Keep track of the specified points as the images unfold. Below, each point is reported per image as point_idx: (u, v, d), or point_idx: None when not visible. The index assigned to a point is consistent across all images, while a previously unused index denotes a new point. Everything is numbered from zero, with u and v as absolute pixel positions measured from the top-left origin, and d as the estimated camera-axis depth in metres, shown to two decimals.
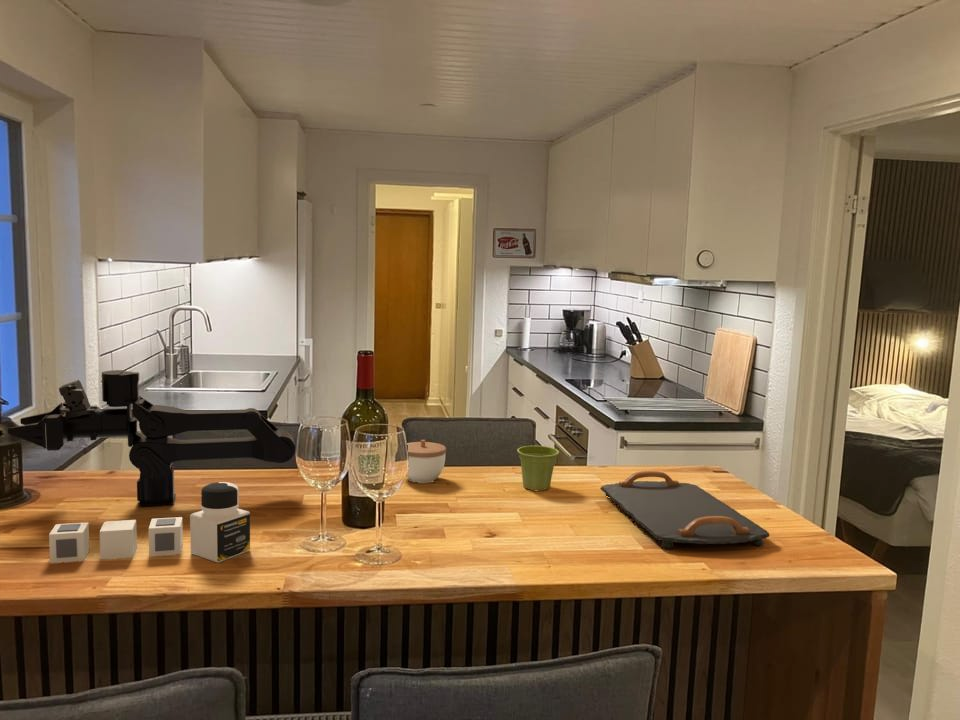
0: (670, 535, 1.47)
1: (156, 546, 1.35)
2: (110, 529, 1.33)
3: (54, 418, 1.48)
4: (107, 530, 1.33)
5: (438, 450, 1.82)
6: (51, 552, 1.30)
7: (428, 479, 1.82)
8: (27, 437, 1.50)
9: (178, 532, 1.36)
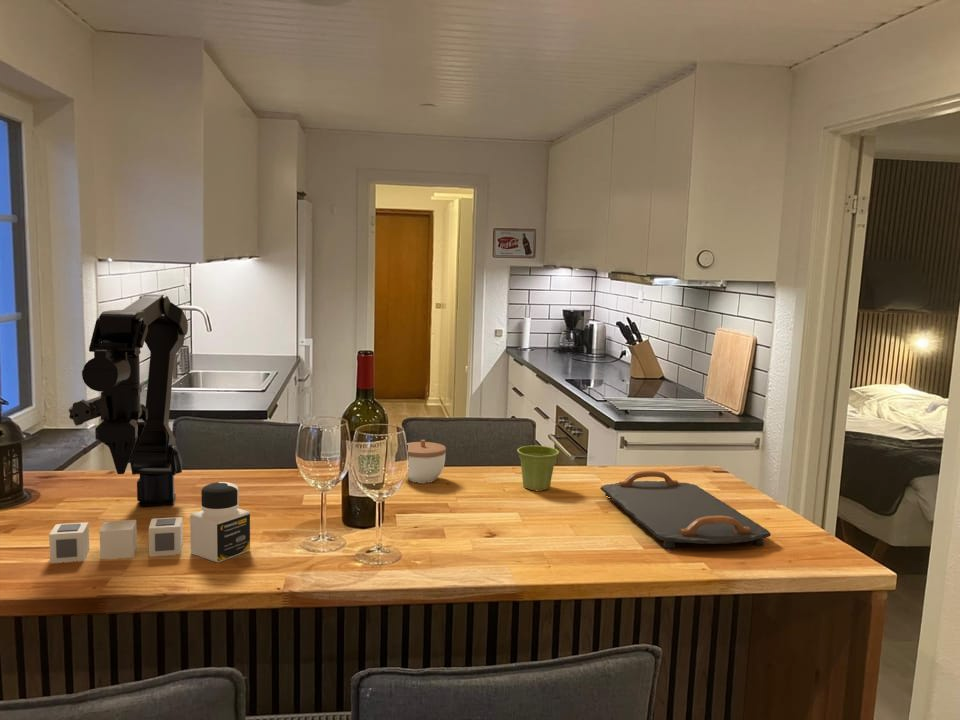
0: (672, 535, 1.47)
1: (156, 546, 1.35)
2: (110, 529, 1.33)
3: (96, 431, 1.33)
4: (107, 530, 1.33)
5: (438, 450, 1.82)
6: (51, 552, 1.30)
7: (428, 479, 1.82)
8: (126, 456, 1.39)
9: (178, 532, 1.36)
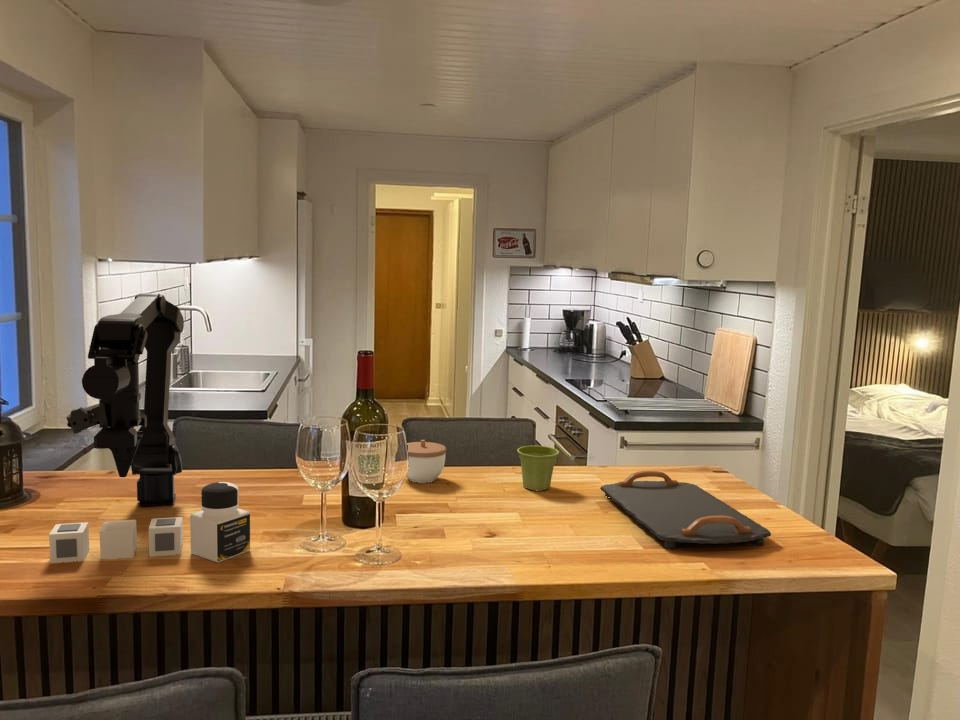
0: (673, 535, 1.47)
1: (156, 546, 1.35)
2: (109, 529, 1.33)
3: (94, 439, 1.31)
4: (107, 530, 1.33)
5: (438, 450, 1.82)
6: (51, 552, 1.30)
7: (428, 479, 1.82)
8: (128, 459, 1.40)
9: (178, 532, 1.36)
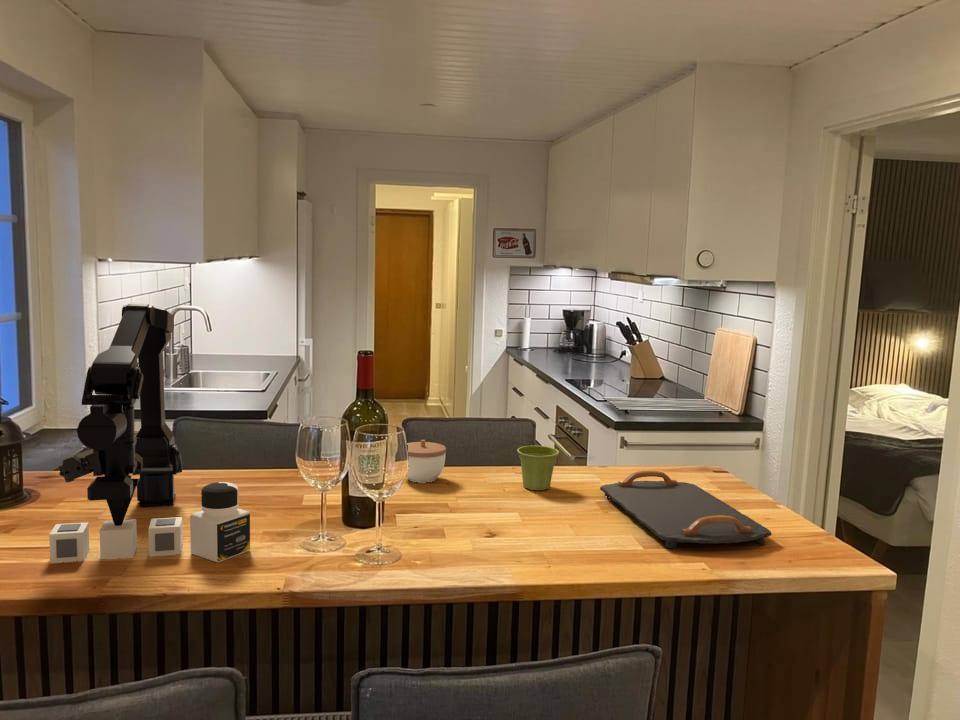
0: (674, 535, 1.47)
1: (156, 546, 1.35)
2: (110, 529, 1.33)
3: (88, 491, 1.25)
4: (107, 529, 1.33)
5: (438, 450, 1.82)
6: (51, 552, 1.30)
7: (428, 479, 1.82)
8: (123, 507, 1.34)
9: (178, 532, 1.36)
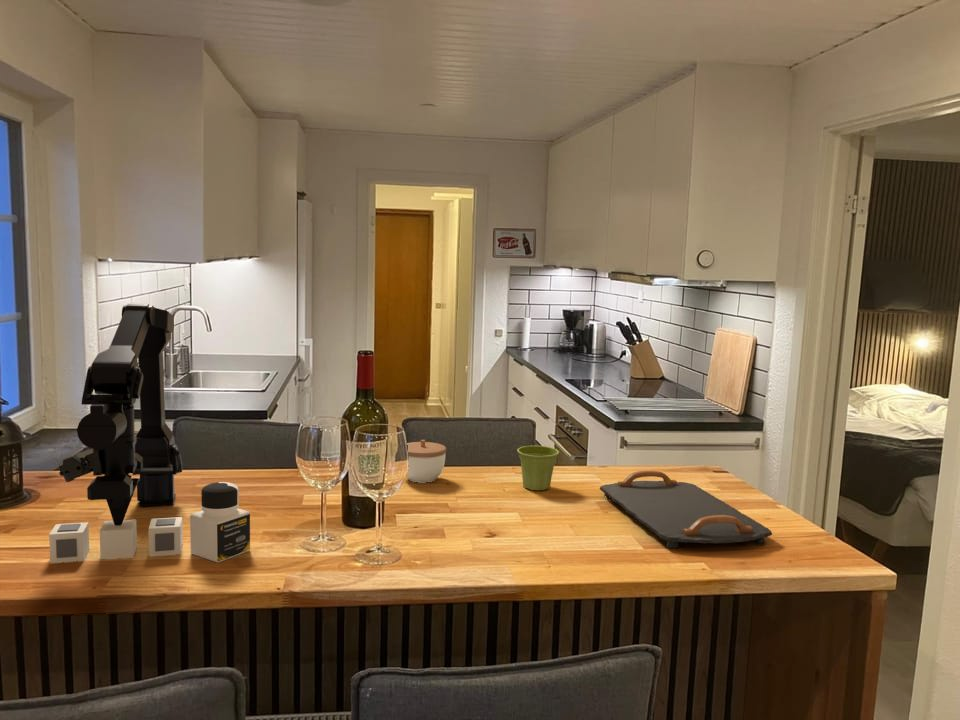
0: (675, 535, 1.47)
1: (156, 546, 1.35)
2: (110, 529, 1.33)
3: (88, 490, 1.25)
4: (107, 529, 1.33)
5: (438, 450, 1.82)
6: (51, 552, 1.30)
7: (428, 479, 1.82)
8: (123, 507, 1.34)
9: (178, 532, 1.36)
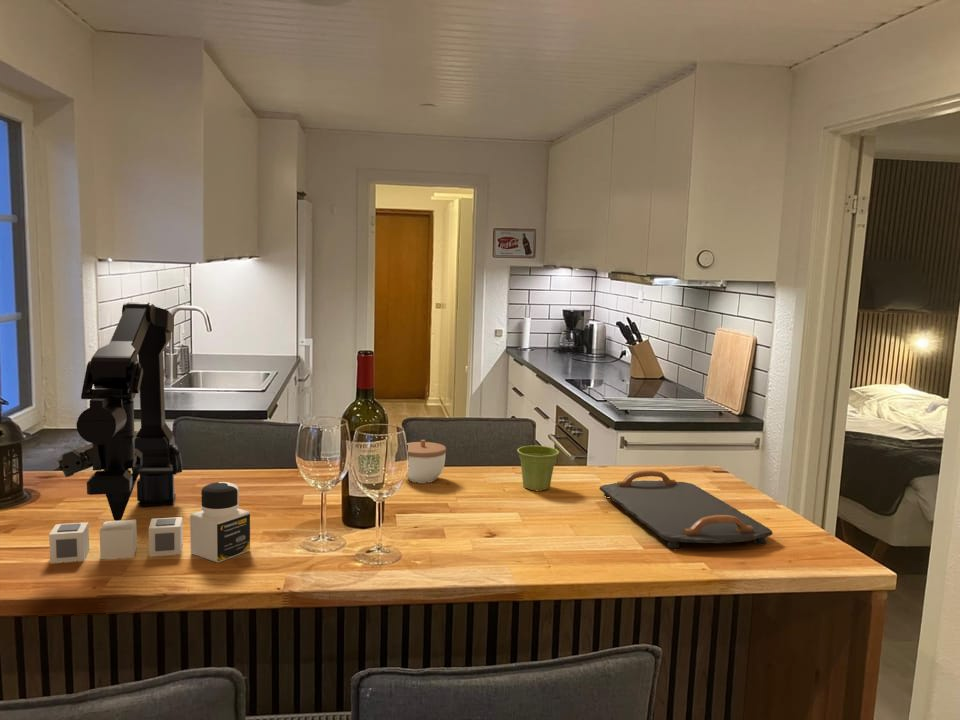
0: (677, 535, 1.47)
1: (156, 546, 1.35)
2: (110, 529, 1.33)
3: (87, 485, 1.25)
4: (107, 530, 1.33)
5: (438, 450, 1.82)
6: (51, 552, 1.30)
7: (428, 479, 1.82)
8: (123, 502, 1.33)
9: (178, 532, 1.36)
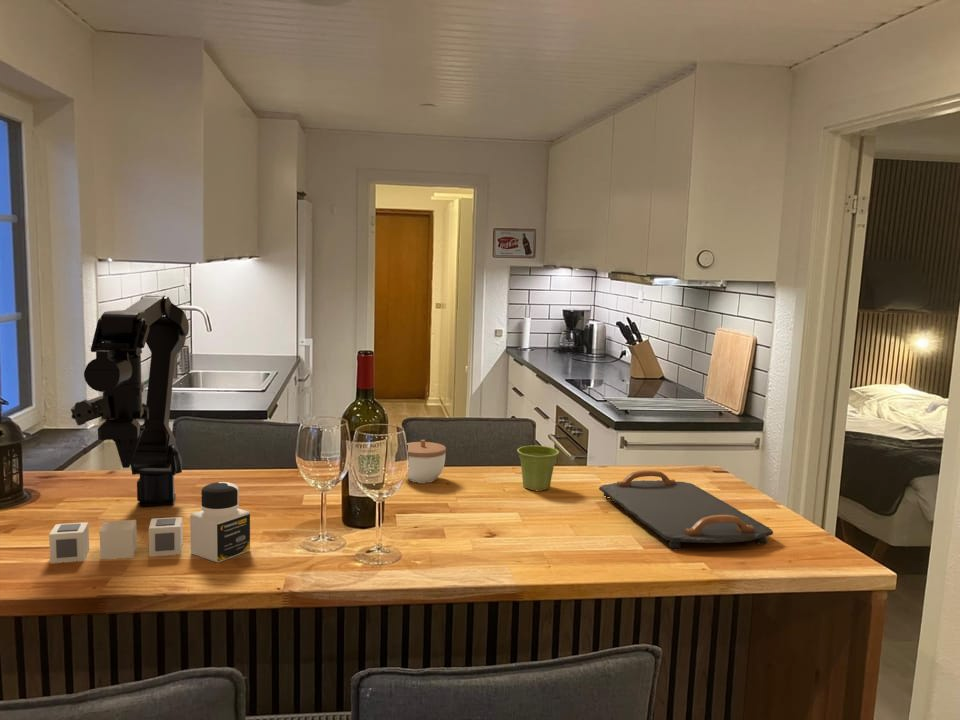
0: (678, 535, 1.47)
1: (156, 546, 1.35)
2: (110, 529, 1.33)
3: (98, 431, 1.34)
4: (107, 530, 1.33)
5: (438, 450, 1.82)
6: (51, 552, 1.30)
7: (428, 479, 1.82)
8: (131, 450, 1.43)
9: (178, 532, 1.36)
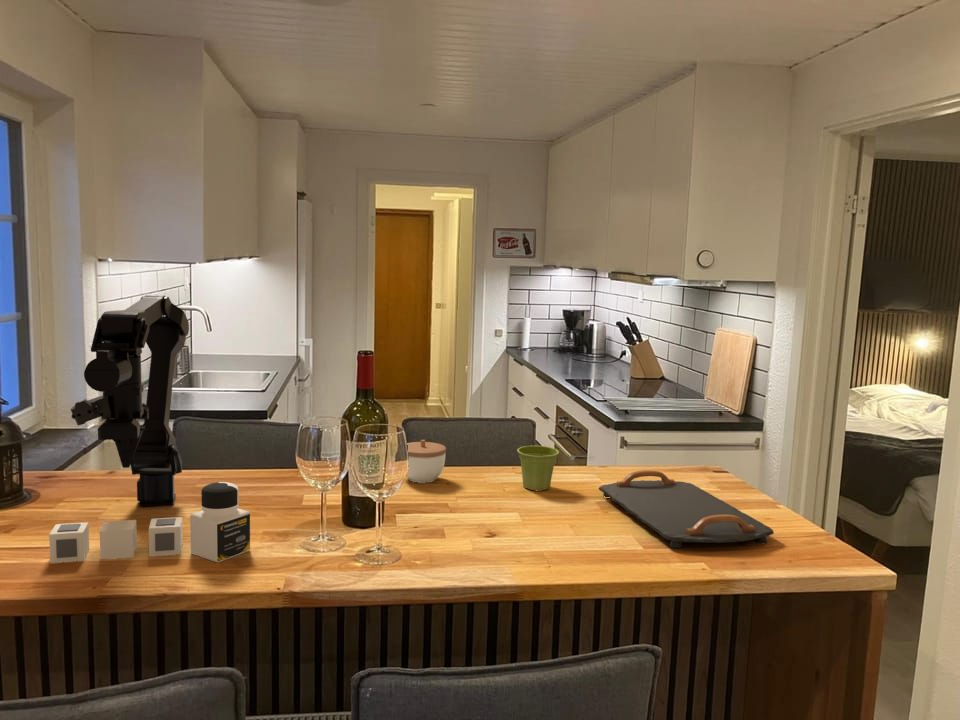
0: (679, 535, 1.47)
1: (156, 546, 1.35)
2: (110, 529, 1.33)
3: (98, 431, 1.34)
4: (107, 530, 1.33)
5: (438, 450, 1.82)
6: (51, 552, 1.30)
7: (428, 479, 1.82)
8: (131, 450, 1.43)
9: (178, 532, 1.36)
